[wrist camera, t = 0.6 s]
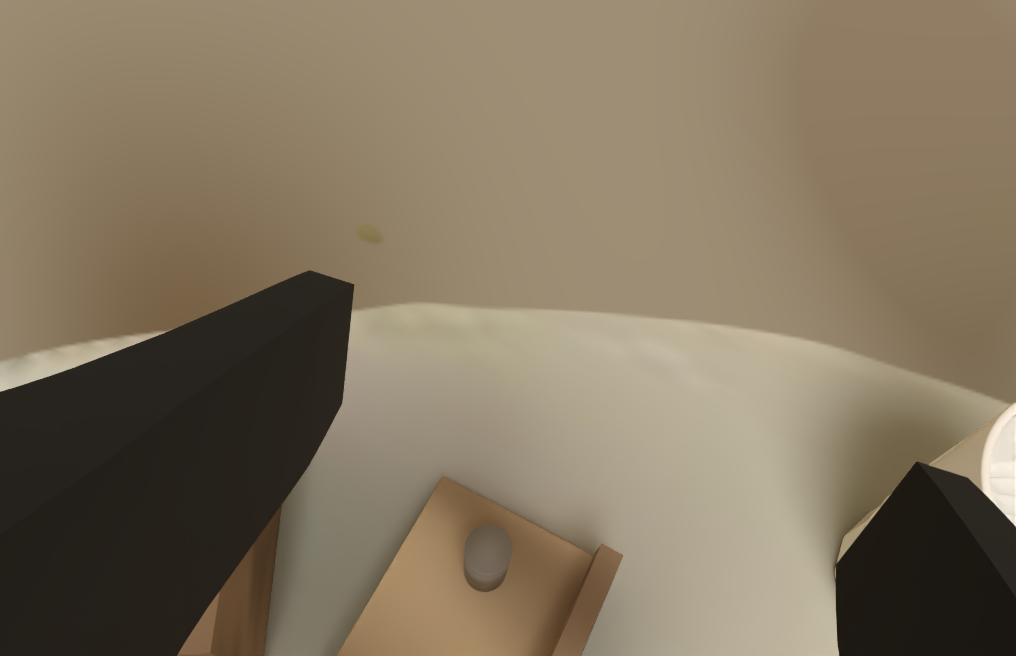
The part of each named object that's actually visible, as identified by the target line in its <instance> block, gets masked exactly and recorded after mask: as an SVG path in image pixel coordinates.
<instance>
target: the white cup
mask: <svg viewBox="0 0 1016 656" xmlns="http://www.w3.org/2000/svg"><path fill="white" fill-rule="evenodd" d="M928 465H930V466H933V467H936V468H939V469H942V470H945V471H949V472H952V473H955V474H958V475H961V476H964V477H968V478H969V479H970V480H971V481H972V482H973V483H974V484H975V485H976V486H977V487H978V488H979V489H980V490H981V491H982V492H983V493H984V494H985V495H986V496H987V497H988V498H989V499H990V500H991V501H992V502H993V503H994V504H995V505H996V506H997V507H998V508H999V509H1000V510H1001V511H1002V512H1003V513H1004V514H1005V515H1006V516H1007V518H1008V519H1009V520H1010V521H1011V522H1012V523H1013V524H1014V525H1015V526H1016V402H1015V403H1013V404H1012V405H1010V406H1009V407H1008V408H1006V409H1005V410H1004V411H1002V412H1001V413H999V414H998V415H997V416H995V417H994V418H993V419H991V420H990V421H988V422H987V423H986V424H984V425H983V426H981V427H980V428H979V429H977V430H976V431H974V432H973V433H972V434H970V435H969V436H967V437H966V438H965V439H963V440H962V441H960V442H959V443H958V444H956V445H955V446H953V447H952V448H951V449H949V450H948V451H946V452H945V453H944V454H942V455H941V456H939V457H938V458H936V459H935V460H934V461H932V462H931V463H930V464H928ZM891 494H892V493H891ZM891 494H890V495H891ZM890 495H889V496H890ZM889 496H887V497H886V498H885V499H884V500H883V502H882V504H881V505H880V506H878V507H877V508H875V509H874V510H872V511H871V512H869V513H868V514H867V515H866V516H865V517H864V518H863V519H862V520H861V521H860V522H859V523H857V524H856V525H855V526H854V527H853V528H852V529H851V530H850V531H849V532H848V533H847V534H846V535H845V536H844V537H843V540H842V544H841V548H840V552H839V556H838V560H837V563H838V561H839V560H840V559H841V557H842V556H843V555H844V554H845V552H846V551H847V550H848V549H849V547H850V546H851V545H852V543H853V542H854V541H855V540H856V538H857V537H858V536H859V534H860V533H861V532H862V531H863V529H864V528H865V527H866V526H867V524H868V523H869V522H870V520H871V519H872V518H873V517H874V515H875V514H876V513H877V512H878V510H879V509H880V508H881V506H882V505H883V504H884V503H885V501H886V500H887V499H888V498H889ZM834 573H835V578H836V568H835V572H834Z"/></svg>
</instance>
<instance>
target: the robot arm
mask: <svg viewBox="0 0 1016 656" xmlns="http://www.w3.org/2000/svg"><path fill="white" fill-rule="evenodd" d="M353 291H354V284H351V283H348V282H345V281H342V280H339V279H335V278H332V277H329V276H326V275H323V274H320V273H316V272H313V271H310V270H309V271H307V272H304V273H302V274H299V275H297V276H294V277H292V278H289V279H288V280H285V281H283V282H280V283H278V284H276V285H273V286H271V287H269V288H267V289H264V290H262V291H260V292H258V293H256V294H253V295H251V296H249V297H247V298H245V299H242V300H240V301H238V302H235V303H233V304H231V305H229V306H226V307H224V308H222V309H220V310H217V311H215V312H213V313H210V314H208V315H206V316H203V317H201V318H199V319H196V320H194V321H192V322H189V323H187V324H185V325H182V326H180V327H178V328H175V329H173V330H171V331H168V332H166V333H164V334H161V335H159V336H156V337H153V338H151V339H148V340H145V341H143V342H140V343H138V344H135V345H132V346H130V347H127V348H125V349H122V350H119V351H117V352H114V353H111V354H109V355H106V356H104V357H101V358H98V359H96V360H93V361H91V362H88V363H85V364H83V365H80V366H77V367H75V368H72V369H69V370H66V371H63V372H61V373H58V374H55V375H52V376H49V377H46V378H43V379H40V380H37V381H34V382H31V383H28V384H24V385H21V386H18V387H15V388H12V389H8V390H5V391H2V392H0V656H177V655H178V653H179V652H180V650H181V648H182V647H183V645H184V643H185V642H186V640H187V639H188V637H189V635H190V634H191V632H192V631H193V629H194V628H195V626H196V625H197V623H198V622H199V620H200V619H201V617H202V616H203V614H204V613H205V611H206V610H207V608H208V607H209V605H210V604H211V603H212V601H213V600H214V598H215V597H216V596H217V594H218V593H219V591H220V590H221V589H222V587H223V586H224V584H225V583H226V582H227V580H228V579H229V577H230V576H231V575H232V573H233V572H234V570H235V569H236V568H237V566H238V565H239V563H240V562H241V561H242V559H243V558H244V556H245V555H246V554H247V552H248V551H249V549H250V548H251V547H252V545H253V544H254V542H255V541H256V540H257V538H258V537H259V535H260V534H261V533H262V531H263V530H264V528H265V527H266V526H267V524H268V523H269V522H270V520H271V519H272V517H273V516H274V515H275V513H276V512H277V510H278V509H279V507H280V506H281V505H282V503H283V502H284V500H285V499H286V498H287V496H288V495H289V493H290V492H291V490H292V489H293V488H294V486H295V485H296V483H297V482H298V481H299V479H300V478H301V476H302V475H303V473H304V472H305V470H306V469H307V467H308V466H309V464H310V462H311V461H312V459H313V457H314V455H315V453H316V452H317V450H318V448H319V446H320V444H321V443H322V441H323V439H324V437H325V435H326V433H327V431H328V429H329V427H330V426H331V424H332V422H333V420H334V418H335V416H336V414H337V412H338V410H339V408H340V406H341V404H342V400H343V390H344V380H345V370H346V361H347V351H348V341H349V331H350V321H351V311H352V301H353ZM836 618H837V641H838V649H839V656H1016V526H1015V525H1014V524H1013V523H1012V522H1011V521H1010V520H1009V519H1008V518H1007V516H1006V515H1005V514H1004V513H1003V512H1002V511H1001V510H1000V509H999V508H998V507H997V506H996V505H995V504H994V503H993V502H992V501H991V500H990V499H989V498H988V497H987V496H986V495H985V494H984V493H983V492H982V491H981V490H980V489H979V488H978V487H977V486H976V485H975V484H974V483H973V482H972V481H971V480H970V479H969V478H968V477H964V476H961V475H958V474H955V473H952V472H949V471H945V470H942V469H939V468H936V467H933V466H930V465H926V464H923V463H920V462H916V463H915V464H914V466H913V467H912V468H911V469H910V471H909V472H908V473H907V475H906V476H905V477H904V478H903V480H902V481H901V482H900V483H899V485H898V486H897V487H896V489H895V490H894V491H893V492H892V494H891V495H890V496H889V498H888V499H887V500H886V501H885V503H884V504H883V505H882V506H881V508H880V509H879V510H878V512H877V513H876V514H875V515H874V517H873V518H872V519H871V520H870V522H869V523H868V524H867V526H866V527H865V528H864V529H863V531H862V532H861V533H860V534H859V536H858V537H857V538H856V540H855V541H854V542H853V543H852V545H851V546H850V547H849V549H848V550H847V551H846V552H845V554H844V555H843V556H842V557H841V559H840V560H839V561H838V563H837V564H836Z"/></svg>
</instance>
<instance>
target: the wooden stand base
mask: <svg viewBox="0 0 1016 656" xmlns="http://www.w3.org/2000/svg"><path fill="white" fill-rule="evenodd" d="M622 557H623V555H622V554H620V553H618V552H616V551H614V550H613V549H611V548H609V547H607V546H605V545H603V544H601V546H600V547H599V548H598V550H597V551H596V553H595V554H594V556H593V555H591V554H589V553H587V552H585V551H583V550H581V549H579V548H577V547H576V546H574V545H572V544H570V543H568V542H566V541H564V540H562V539H560V538H559V537H557V536H555V535H553V534H551V533H549V532H547V531H545V530H544V529H542V528H540V527H538V526H536V525H534V524H532V523H530V522H528V521H527V520H525V519H523V518H521V517H519V516H517V515H515V514H513V513H512V512H510V511H508V510H506V509H504V508H502V507H500V506H498V505H496V504H495V503H493V502H491V501H489V500H487V499H485V498H483V497H481V496H479V495H478V494H476V493H474V492H472V491H470V490H468V489H466V488H464V487H463V486H461V485H459V484H457V483H455V482H453V481H451V480H449V479H447V478H446V477H444V476H443V477H442V479H441V480H440V482H439V484H438V486H437V487H436V489H435V491H434V492H433V494H432V496H431V497H430V499H429V501H428V502H427V504H426V506H425V507H424V509H423V511H422V512H421V514H420V516H419V518H418V519H417V521H416V523H415V524H414V526H413V528H412V529H411V531H410V533H409V534H408V536H407V538H406V539H405V541H404V543H403V545H402V546H401V548H400V550H399V551H398V553H397V555H396V556H395V558H394V560H393V561H392V563H391V565H390V566H389V568H388V570H387V571H386V573H385V575H384V577H383V578H382V580H381V582H380V583H379V585H378V587H377V588H376V590H375V592H374V593H373V595H372V597H371V598H370V600H369V602H368V604H367V605H366V607H365V609H364V610H363V612H362V614H361V615H360V617H359V619H358V620H357V622H356V624H355V625H354V627H353V629H352V630H351V632H350V634H349V636H348V637H347V639H346V641H345V642H344V644H343V646H342V647H341V649H340V651H339V652H338V654H337V656H581V655H582V652H583V650H584V648H585V645H586V643H587V640H588V638H589V636H590V633H591V631H592V629H593V626H594V624H595V621H596V619H597V617H598V614H599V612H600V610H601V607H602V605H603V602H604V600H605V598H606V595H607V593H608V591H609V588H610V586H611V583H612V581H613V579H614V576H615V574H616V572H617V569H618V567H619V564H620V562H621V560H622Z"/></svg>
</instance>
